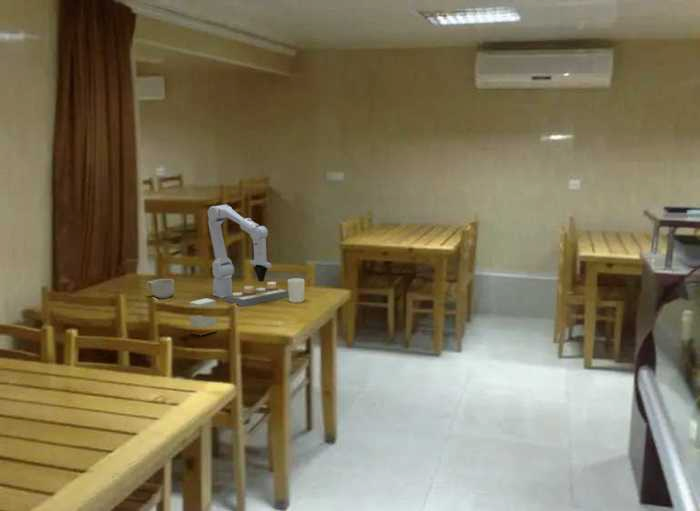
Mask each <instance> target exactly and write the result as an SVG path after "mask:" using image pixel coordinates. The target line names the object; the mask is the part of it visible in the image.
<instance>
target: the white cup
mask: <svg viewBox="0 0 700 511" xmlns="http://www.w3.org/2000/svg"><path fill="white" fill-rule="evenodd" d="M305 283H306V282H305V279H304V278H300V277H299V278H289V279H288V280H287V289H288V290H287V291H288V295H289V297H288V301H289V302H290V303H294V304H295V303H302V302H303V303H304V301H305Z"/></svg>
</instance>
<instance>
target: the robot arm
mask: <svg viewBox="0 0 700 511" xmlns="http://www.w3.org/2000/svg"><path fill="white" fill-rule="evenodd" d="M207 218H208V223H207V224H208V227H209V235H210V237H211V243H212V248H213V254H214V257H215V260H214V261H213V262H212V270H211V271H212V275H213V277H214V278H213V280H212V287H213V290H212V291H213V293H211V295H212V296H214V297H217V298H220V299H224V298H226V295H230V294H233V293H234V292H233V287H232V286H233V285H232V284H233V282H232V278H233V275H234V274H235V267H234V265H233V261H232V260H231V259H230V258H229V257H228V256H227V252H226V247H225V246H226V244H225V242H224V236H223V230H222V226H221V225H223V224H222V223H223V222H224V221H225V220H226V219H229V220H231V221H233V222H234V223H237V225H239V227H240V230H243V231H245V232H246V233H247V234H249V235H250V238H251V239H252V244H253V259H251V260H249V264H250V265H254V266H253V267H252V268H253V271H254V272H255V275H256V276H257V280H258V282H259V283H261V282H264V281H265V278H266V277H265V276H266V275H267V274H266V273H267V271H268V269H270V268H272V263H270V262H268V259H267V244H266V243H267V242H266V241H267V240H266V239H267V237H268V235H269V230H268V228H267V227H266V226H264V225H259V223H256V222H255V221H253V220H252V218H250V217H247V218H244V217H243V216H242V215H240V214H239V213H237V212H236V211H235V210H234V209H233V207H232V206H230V205H228V204H227V203H226V204H220V205H211V206H210V207H209V209H208V210H207Z"/></svg>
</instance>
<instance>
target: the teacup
mask: <svg viewBox="0 0 700 511" xmlns="http://www.w3.org/2000/svg"><path fill="white" fill-rule="evenodd" d="M150 284H151V287H150ZM146 288H147V289H148V290H149V291H150V292H152V295H153V296H154V297H156V298H157V297H158V298H157V299H167V298H170V297H171V296H173V294H174V293H175V281H174V279H172V278H160V279H155V280H149V281H147V282H146Z"/></svg>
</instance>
